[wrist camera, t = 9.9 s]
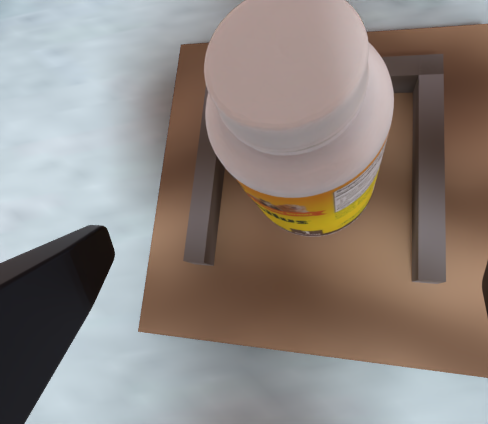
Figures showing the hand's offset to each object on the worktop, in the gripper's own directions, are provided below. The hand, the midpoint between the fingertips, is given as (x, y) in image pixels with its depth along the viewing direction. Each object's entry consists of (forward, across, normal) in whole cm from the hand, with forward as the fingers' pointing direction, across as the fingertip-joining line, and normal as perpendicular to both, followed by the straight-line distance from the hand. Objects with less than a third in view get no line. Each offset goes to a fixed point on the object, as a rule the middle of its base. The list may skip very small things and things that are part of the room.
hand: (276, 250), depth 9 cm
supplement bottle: (+10, 0, +3) cm, 10 cm away
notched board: (+11, 0, +4) cm, 11 cm away
